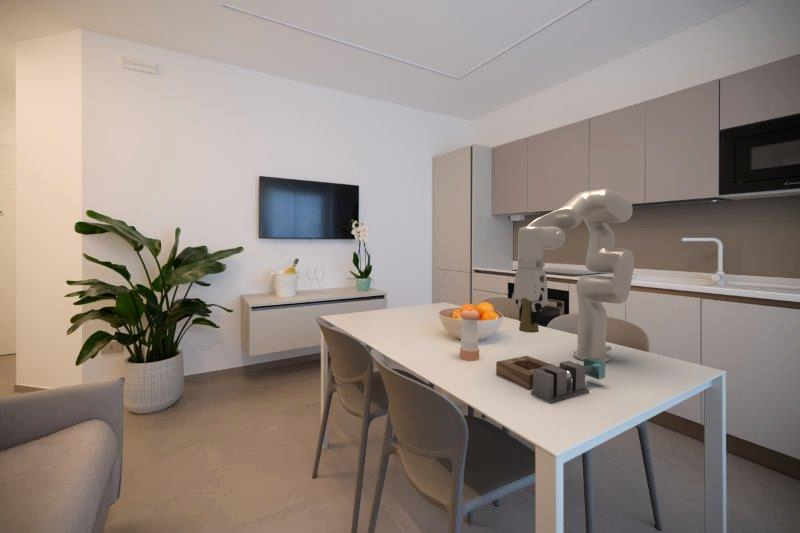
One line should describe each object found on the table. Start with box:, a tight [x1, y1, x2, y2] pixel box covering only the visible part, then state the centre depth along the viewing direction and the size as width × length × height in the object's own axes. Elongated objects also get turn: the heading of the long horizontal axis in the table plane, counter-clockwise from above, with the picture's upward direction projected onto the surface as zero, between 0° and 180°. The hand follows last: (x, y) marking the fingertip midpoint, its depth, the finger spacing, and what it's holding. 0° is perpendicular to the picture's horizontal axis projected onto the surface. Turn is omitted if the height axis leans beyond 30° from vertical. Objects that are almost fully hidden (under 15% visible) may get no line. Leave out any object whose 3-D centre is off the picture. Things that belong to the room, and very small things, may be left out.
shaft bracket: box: [530, 360, 590, 405], centre depth 104 cm, size 16×7×8 cm, turn 118°
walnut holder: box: [495, 355, 559, 391], centre depth 116 cm, size 14×14×4 cm
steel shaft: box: [567, 357, 607, 380], centre depth 107 cm, size 17×5×5 cm, turn 118°
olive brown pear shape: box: [518, 298, 540, 334], centre depth 114 cm, size 6×6×11 cm
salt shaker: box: [459, 307, 480, 361], centre depth 137 cm, size 7×7×19 cm
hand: (528, 321), depth 115 cm, fingers closed on olive brown pear shape, 4 cm apart
